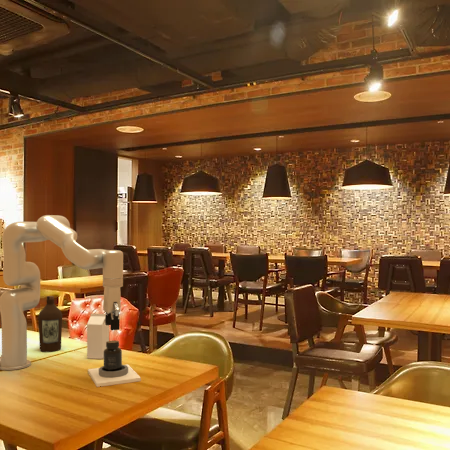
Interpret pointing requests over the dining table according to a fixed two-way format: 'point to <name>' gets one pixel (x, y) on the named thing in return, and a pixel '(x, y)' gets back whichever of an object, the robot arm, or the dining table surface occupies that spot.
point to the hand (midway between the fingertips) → (112, 327)
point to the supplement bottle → (112, 356)
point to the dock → (113, 376)
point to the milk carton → (97, 336)
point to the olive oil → (50, 327)
